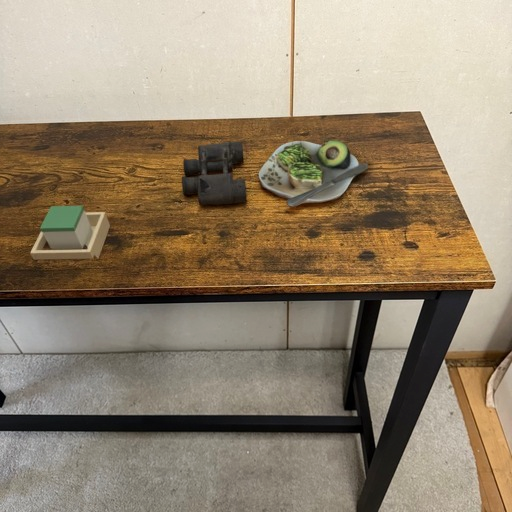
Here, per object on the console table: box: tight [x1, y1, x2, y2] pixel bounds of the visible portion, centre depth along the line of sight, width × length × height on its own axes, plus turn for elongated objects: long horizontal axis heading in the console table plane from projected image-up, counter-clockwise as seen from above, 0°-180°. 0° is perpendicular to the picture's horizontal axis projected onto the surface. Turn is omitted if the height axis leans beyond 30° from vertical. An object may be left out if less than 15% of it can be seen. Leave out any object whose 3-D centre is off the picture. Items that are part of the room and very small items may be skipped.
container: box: [39, 205, 93, 250], centre depth 71 cm, size 5×5×6 cm
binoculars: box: [181, 141, 248, 206], centre depth 81 cm, size 11×16×6 cm
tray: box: [29, 211, 111, 261], centre depth 72 cm, size 9×9×3 cm
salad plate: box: [258, 139, 369, 208], centre depth 81 cm, size 19×18×5 cm
